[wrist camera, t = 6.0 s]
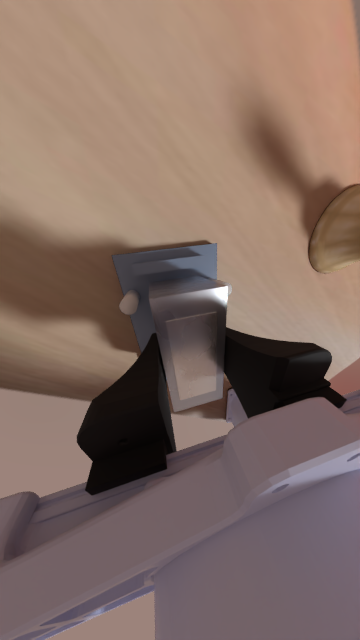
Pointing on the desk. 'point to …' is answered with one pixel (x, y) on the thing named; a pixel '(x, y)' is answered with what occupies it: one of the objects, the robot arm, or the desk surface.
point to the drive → (191, 337)
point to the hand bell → (337, 234)
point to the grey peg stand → (159, 279)
